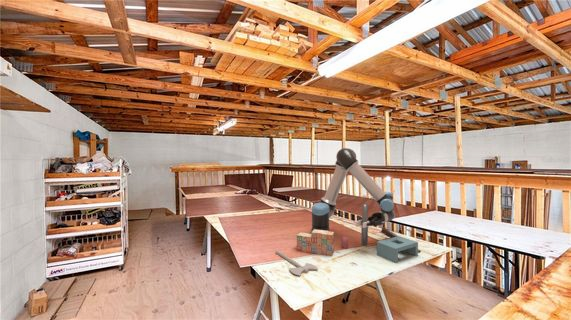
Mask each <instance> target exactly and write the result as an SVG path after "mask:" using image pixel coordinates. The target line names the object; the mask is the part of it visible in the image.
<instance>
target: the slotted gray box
mask: <svg viewBox="0 0 571 320" xmlns="http://www.w3.org/2000/svg"><path fill="white" fill-rule="evenodd" d="M380 233H382V234H384V235H387V236H388V237H390V238H393V237H397V236H399V235H397V234H396V233H395V232H393V231H391V230H389V229H387V228H386V227H381V230H380ZM421 252H422V251H421V249H419V248H418V254H419V253H421Z"/></svg>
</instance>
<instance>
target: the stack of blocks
mask: <svg viewBox="0 0 571 320" xmlns="http://www.w3.org/2000/svg"><path fill="white" fill-rule="evenodd" d="M310 232H311V231H310ZM310 232H309V233H307V232H299V233H298V234H296V251H301V252H305V253H311V254H316V255H317V254H319V255H322V256H323V255H324V256H328V257H333V255H334V252H335V232H334V231H331V230H330V231H325V230H316V229H314V230H313V231H312V232H311V234H310Z"/></svg>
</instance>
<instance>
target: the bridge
mask: <svg viewBox="0 0 571 320" xmlns="http://www.w3.org/2000/svg"><path fill="white" fill-rule="evenodd" d="M418 249H419V242H418V241H416V240H413V239H410V238H406V237H403V236H401V235H398V236H397V237H393V238H392V237H390V238H385V239H382V240H379V241H376V255H377V256H379V257H380V258H383V259H385V260H388V261H389V262H392V263H398V262H399V252H404V253H407V254H410V255H412V256H416V257H417V256H418V255H419V253H418Z"/></svg>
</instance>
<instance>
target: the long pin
mask: <svg viewBox="0 0 571 320" xmlns="http://www.w3.org/2000/svg"><path fill="white" fill-rule="evenodd" d="M361 217H362V225H361V227H360V228H361V231H360V232H361V234H360V237H361V239H360V241H361V242H360V245H361V246H363V247H367V246H368V243H369V241H368V240H369V239H368V238H369V226H368V227H365V228H363V223H364V222H367V221H368V217H369V204H368V203H362V204H361Z"/></svg>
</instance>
